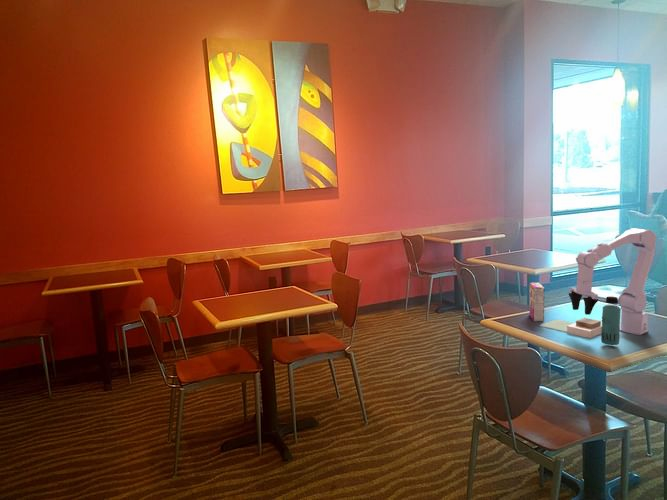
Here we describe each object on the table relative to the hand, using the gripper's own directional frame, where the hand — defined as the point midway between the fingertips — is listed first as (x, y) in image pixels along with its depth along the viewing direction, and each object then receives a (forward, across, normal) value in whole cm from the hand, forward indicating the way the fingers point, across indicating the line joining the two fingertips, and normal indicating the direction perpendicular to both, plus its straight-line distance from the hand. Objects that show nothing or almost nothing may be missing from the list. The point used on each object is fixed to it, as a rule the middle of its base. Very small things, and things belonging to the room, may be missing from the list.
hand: (581, 312), depth 207 cm
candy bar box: (+10, -27, -2) cm, 29 cm away
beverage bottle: (+10, +16, +2) cm, 19 cm away
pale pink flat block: (+10, -2, +5) cm, 11 cm away
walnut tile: (+6, -2, +5) cm, 9 cm away
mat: (+10, -13, +1) cm, 16 cm away
